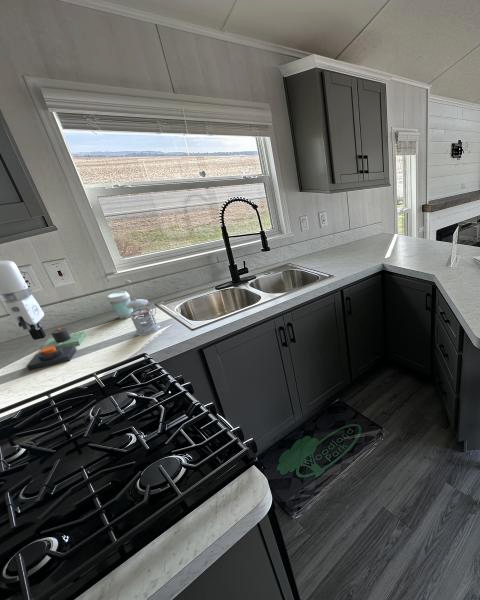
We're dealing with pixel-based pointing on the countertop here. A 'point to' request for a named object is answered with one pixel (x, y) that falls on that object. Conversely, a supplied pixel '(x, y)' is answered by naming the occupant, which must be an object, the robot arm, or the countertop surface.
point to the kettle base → (52, 358)
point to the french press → (144, 327)
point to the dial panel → (73, 341)
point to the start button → (48, 350)
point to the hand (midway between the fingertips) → (40, 337)
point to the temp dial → (60, 335)
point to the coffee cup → (120, 304)
